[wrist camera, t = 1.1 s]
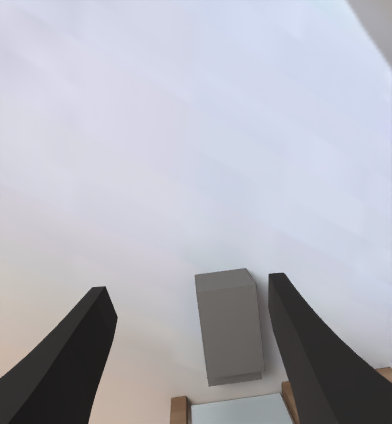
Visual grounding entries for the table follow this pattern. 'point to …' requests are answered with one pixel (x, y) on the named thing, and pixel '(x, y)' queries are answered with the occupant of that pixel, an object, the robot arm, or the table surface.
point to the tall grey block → (230, 326)
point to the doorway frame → (180, 403)
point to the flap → (243, 411)
